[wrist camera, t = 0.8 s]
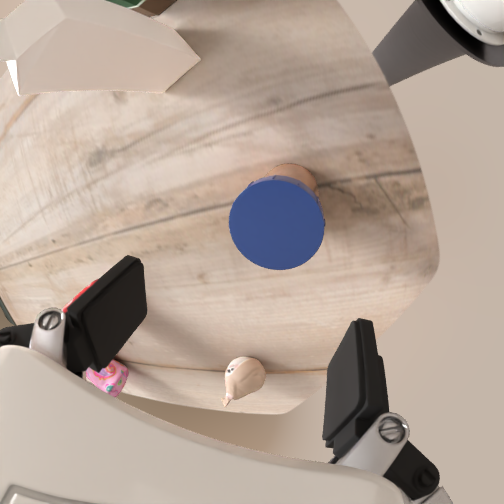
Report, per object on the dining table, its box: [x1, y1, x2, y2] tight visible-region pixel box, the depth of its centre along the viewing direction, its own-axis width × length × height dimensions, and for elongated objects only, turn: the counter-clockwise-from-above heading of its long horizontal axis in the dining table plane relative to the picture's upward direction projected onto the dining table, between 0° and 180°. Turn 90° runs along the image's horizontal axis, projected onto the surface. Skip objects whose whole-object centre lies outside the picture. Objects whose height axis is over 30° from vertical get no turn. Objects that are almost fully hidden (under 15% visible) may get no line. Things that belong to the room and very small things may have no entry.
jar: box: [264, 163, 319, 197], centre depth 24 cm, size 6×6×10 cm
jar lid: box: [229, 174, 325, 270], centre depth 20 cm, size 7×7×2 cm
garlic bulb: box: [221, 357, 266, 407], centre depth 38 cm, size 7×6×8 cm
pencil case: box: [86, 360, 129, 397], centre depth 49 cm, size 21×9×9 cm, turn 65°
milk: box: [0, 0, 201, 96], centre depth 14 cm, size 6×6×22 cm
